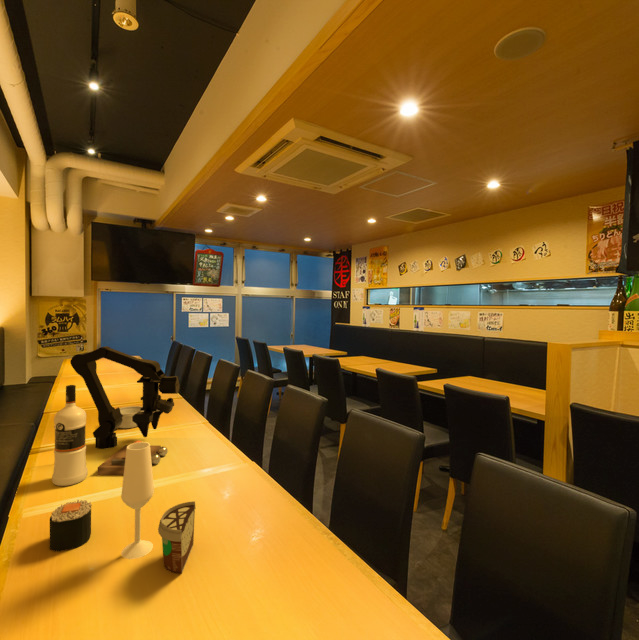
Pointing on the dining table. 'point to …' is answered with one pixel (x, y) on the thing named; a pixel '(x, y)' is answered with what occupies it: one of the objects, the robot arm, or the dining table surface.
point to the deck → (119, 462)
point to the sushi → (70, 525)
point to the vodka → (70, 442)
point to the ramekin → (129, 416)
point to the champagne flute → (137, 492)
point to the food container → (177, 535)
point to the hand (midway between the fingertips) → (150, 432)
